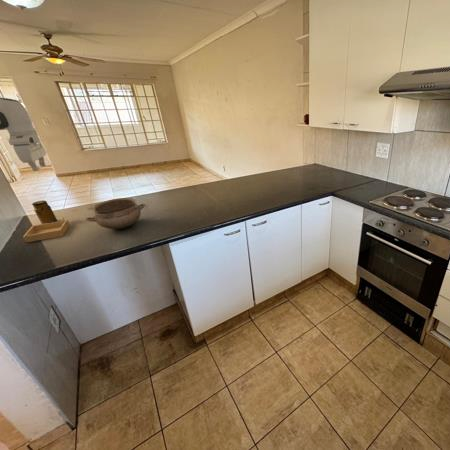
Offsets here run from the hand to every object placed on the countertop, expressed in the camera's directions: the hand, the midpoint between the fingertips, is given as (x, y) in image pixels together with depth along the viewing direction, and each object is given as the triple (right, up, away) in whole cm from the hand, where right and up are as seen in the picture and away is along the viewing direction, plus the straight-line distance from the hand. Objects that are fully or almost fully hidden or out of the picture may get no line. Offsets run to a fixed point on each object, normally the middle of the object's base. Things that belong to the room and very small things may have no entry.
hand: (40, 168), depth 118 cm
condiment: (-6, -26, +12) cm, 29 cm away
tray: (+3, -31, +2) cm, 31 cm away
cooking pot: (+34, -28, +8) cm, 45 cm away
